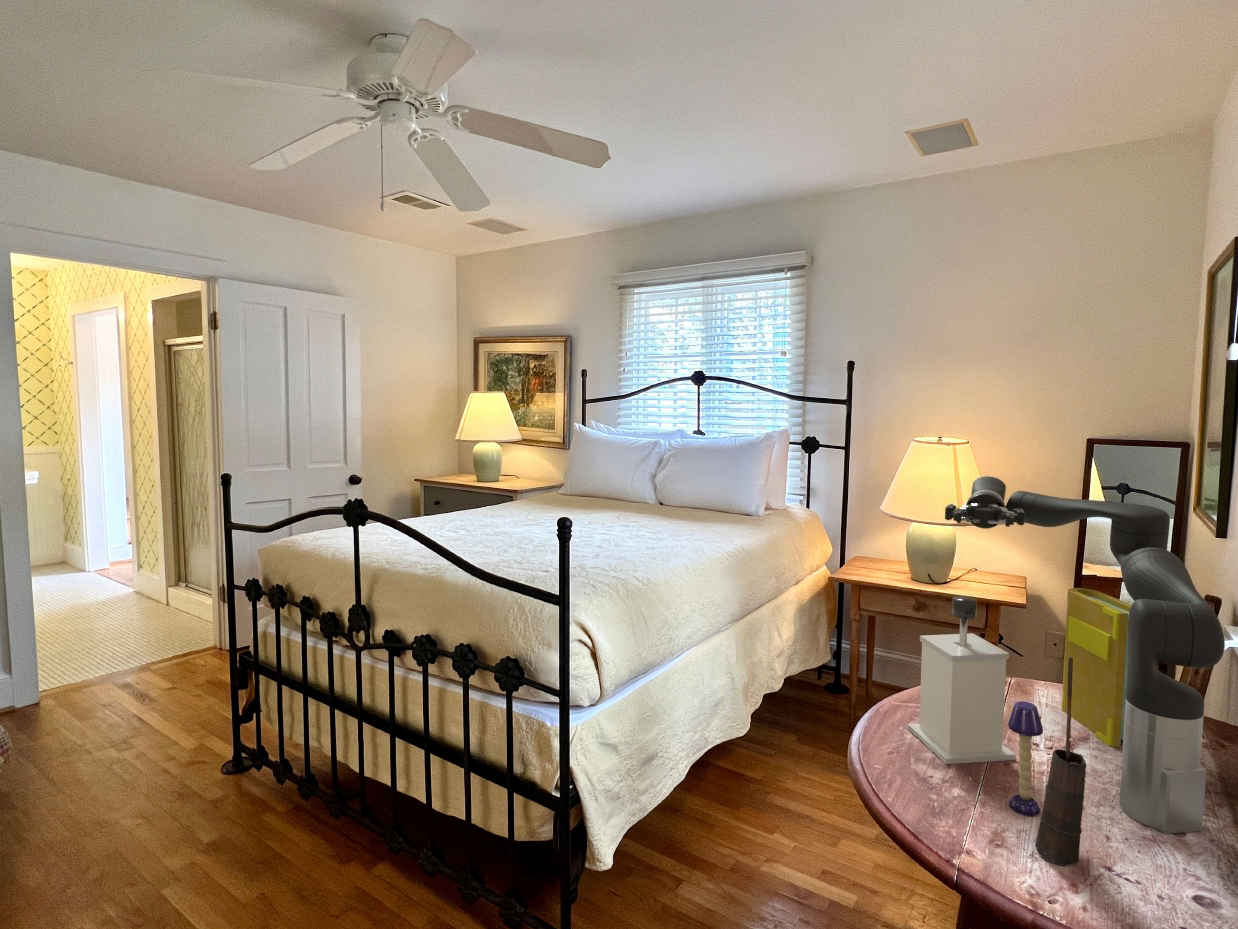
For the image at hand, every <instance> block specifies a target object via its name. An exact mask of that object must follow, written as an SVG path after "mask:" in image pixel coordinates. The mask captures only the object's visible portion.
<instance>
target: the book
mask: <svg viewBox="0 0 1238 929" xmlns="http://www.w3.org/2000/svg"><path fill="white" fill-rule="evenodd" d="M1131 605H1132V604H1131V603H1129V602H1126V601H1123V600H1121V599H1119V598H1116V597H1113V596H1111V595H1108V594H1106V593H1104V592H1102V591H1099V590H1095V589H1089V588H1082V587H1071V588H1068V589H1067V598H1066V617H1065V618H1066V619H1065V635H1064V636H1065V638H1064V653H1063V654H1064V655H1063V672H1062V674H1063V675H1062V691H1061V692H1062V693H1061V711H1062V712H1063V713H1065V714H1066V715H1067V691H1068V661H1069V658H1070V657H1072V658H1073V673H1072V698H1071V719H1073V720H1074V721H1076V722H1077V723H1079V724H1080V725H1082V726H1083V727H1085V728H1086V729H1087V730H1089V731H1090V732H1091V733H1093V734H1095V738H1097V739H1099V740H1100V741H1101V742H1103V744H1105V745H1106V746H1109V747H1121V741H1123V736H1124V720H1125V706H1126V690H1127V674H1128V617H1129V610H1130V607H1131Z"/></svg>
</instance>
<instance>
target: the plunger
mask: <svg viewBox="0 0 1238 929" xmlns="http://www.w3.org/2000/svg"><path fill="white" fill-rule="evenodd" d="M951 599H952V600H951V604H952V606H951V615H952V616H953V617H956V618H959V634H960V638H959V646H960V647H967V634H968V623H969V620H971V619H977V615H978V614H977V610H978V609H977V608H978V599H976V598H974V597H970V596H965V595H964V596H961V595H960V596H959V595H958V596H953V597H952V598H951Z"/></svg>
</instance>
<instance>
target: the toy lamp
mask: <svg viewBox="0 0 1238 929" xmlns="http://www.w3.org/2000/svg"><path fill="white" fill-rule="evenodd" d="M1007 724H1008V725H1007V726H1008V728H1009V729H1010V731H1012V732H1013V733H1015V734H1018V738H1019V741H1018V747H1019V749H1018V757H1019V759H1018V766H1019V769H1018V776H1019V777H1018V778H1019V779H1018V786H1019V788H1018V794H1015V795H1013V796H1011V798H1010V800H1009V801H1008V807H1009V808H1010V809H1011V810H1012V811H1013V812H1015V813H1017V814H1019V815H1021V816H1026V817H1038V816H1039V815H1041V807H1040V804H1039V803H1038V802H1037V800H1036V799H1034V798H1033V797H1032V795H1033V793H1032V790H1031V788H1032V786H1033V784H1032V780H1031V779H1032V776H1033V775H1032V771H1031V770H1032V761H1031V760H1032V756H1033V754H1032V748H1033V747H1032V745H1033V744H1032V738H1033V737H1037V736H1041V735H1042V734H1043V733H1044V728H1043V727H1044V726H1043V724H1042V720H1041V717H1040V713H1039V711H1038V707H1037V706H1036V705H1035V704H1033V703H1032V702H1029V701H1023V700H1021V701H1019V700H1018V701H1017V702H1015V703H1014V705H1013V707H1012V711H1011V713H1010V717H1009V719H1008V723H1007Z"/></svg>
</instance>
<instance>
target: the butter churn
mask: <svg viewBox="0 0 1238 929" xmlns="http://www.w3.org/2000/svg"><path fill="white" fill-rule="evenodd" d="M1072 673H1073V658H1072V657H1070V658H1069V661H1068V691H1067V714H1066V730H1065V731H1066V734H1065V735H1066V737H1065V739H1066V741H1065V749H1062V748H1061V749H1060V748H1057V749H1054V750H1053V752H1052V755H1051V756H1052V757H1051V760H1050V766H1049V772H1048V773H1049V774H1048V776H1047V777H1048V779H1047V784H1045V785H1046V786H1045V794H1044V799H1043V805H1042V810H1041V814H1040V818H1039V825H1038V830H1037V834H1036V840H1035V848H1036V850H1037V854H1038V855H1039V856H1040V857H1042V858H1043V859H1045V860H1047V861H1048V862H1051V863H1053V864H1056V865H1059V866H1064V867H1067V866H1069V865H1075V863H1079V861H1080V849H1081V848H1080V845H1081V834H1082V833H1083V831H1082V817H1083V809H1084V801H1085V787H1086V786H1085V785H1086V775H1087V772H1086V771H1087V770H1086V769H1087V763H1086V760H1085V758H1084V756H1083V755H1082V753H1078V752H1074V751H1072V750H1071V745H1072V744H1071V743H1072V742H1071V740H1070V739H1071V738H1072V736H1071V732H1072V731H1071V729H1072V717H1071V698H1072Z"/></svg>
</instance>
